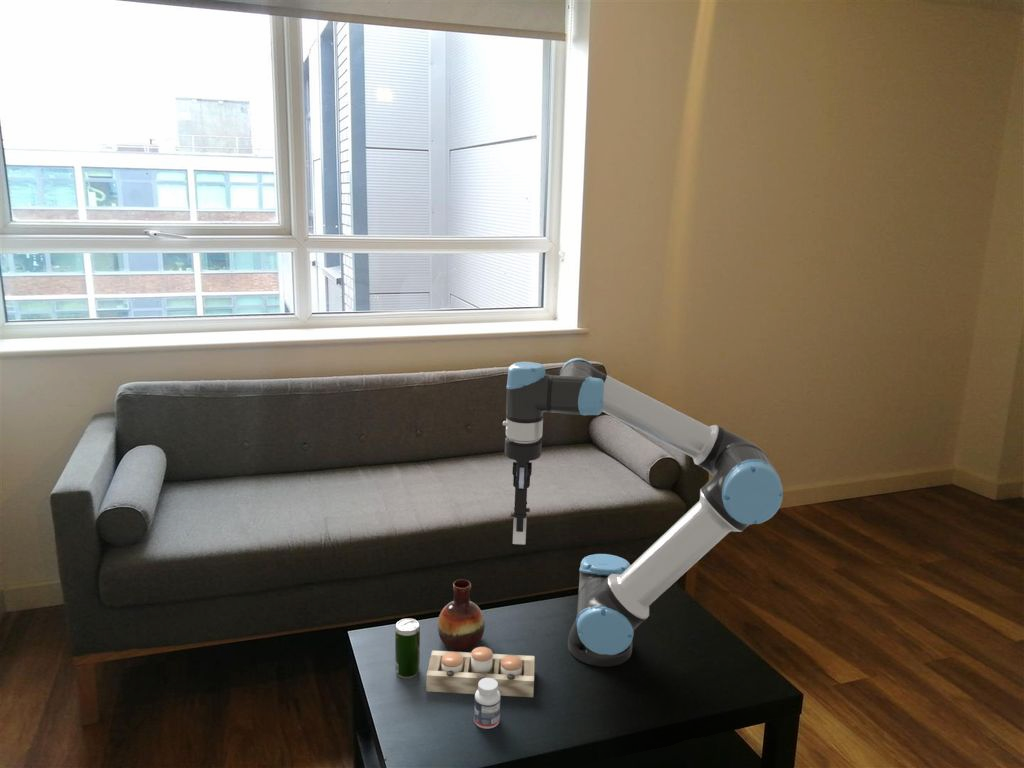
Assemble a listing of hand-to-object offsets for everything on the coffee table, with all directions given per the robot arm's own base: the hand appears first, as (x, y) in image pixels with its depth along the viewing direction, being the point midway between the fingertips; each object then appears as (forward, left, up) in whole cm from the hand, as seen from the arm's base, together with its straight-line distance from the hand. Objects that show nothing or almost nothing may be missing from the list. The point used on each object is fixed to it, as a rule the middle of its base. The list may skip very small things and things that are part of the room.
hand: (519, 542), depth 169 cm
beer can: (+24, +1, -33) cm, 40 cm away
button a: (0, +3, -32) cm, 32 cm away
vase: (+13, -11, -33) cm, 37 cm away
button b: (+7, +3, -30) cm, 31 cm away
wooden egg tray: (+7, +3, -32) cm, 33 cm away
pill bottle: (+5, +16, -33) cm, 37 cm away
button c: (+14, +3, -32) cm, 35 cm away
